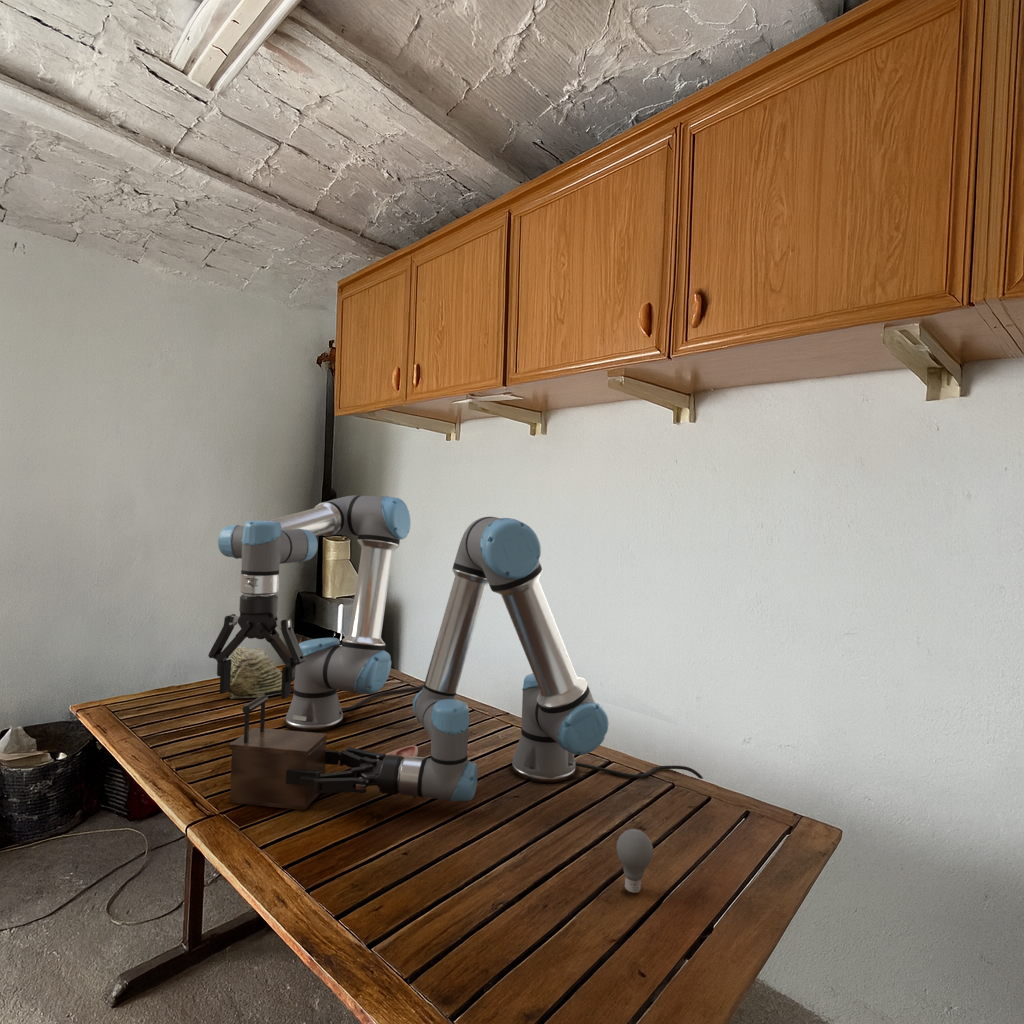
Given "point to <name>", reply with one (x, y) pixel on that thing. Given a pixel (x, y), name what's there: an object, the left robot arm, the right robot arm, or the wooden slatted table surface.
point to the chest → (273, 778)
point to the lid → (274, 736)
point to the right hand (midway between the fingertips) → (298, 765)
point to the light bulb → (634, 857)
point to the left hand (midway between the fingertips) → (255, 694)
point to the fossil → (253, 674)
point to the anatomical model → (405, 751)
